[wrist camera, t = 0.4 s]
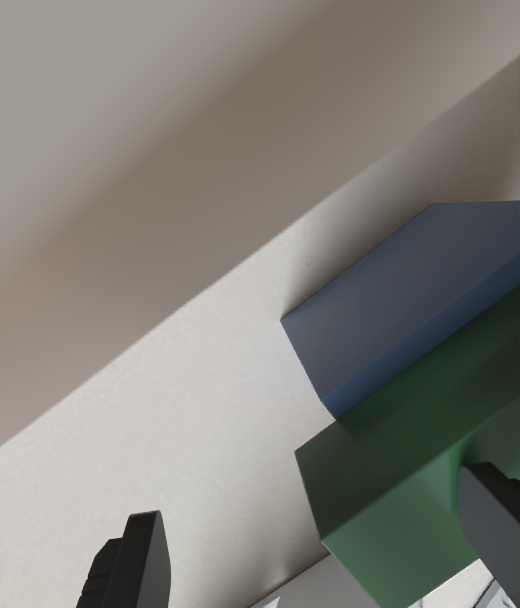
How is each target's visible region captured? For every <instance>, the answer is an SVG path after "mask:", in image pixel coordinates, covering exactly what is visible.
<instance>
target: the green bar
mask: <svg viewBox="0 0 520 608" xmlns="http://www.w3.org/2000/svg"><path fill="white" fill-rule="evenodd" d="M294 453H295V457H296V460H297V464H298V467H299V471H300V474H301V477H302V481H303V484H304V488H305V491H306V495H307V498H308V502H309V505H310V509H311V512H312V515H313V519H314V522H315V526H316V529H317V533H318V536H319V540H320V542H321V543H322V544H323V545H324V547H325V548H326V549H327V550H328V551H329V552H330V553H331V554H332V556H333V557H334V558H335V559H336V560H337V561H338V562H339V563H340V564H341V566H342V567H343V568H344V569H345V570H346V571H347V572H348V573H349V575H350V576H351V577H352V578H353V579H354V580H355V581H356V582H357V583H358V585H359V586H360V587H361V588H362V589H363V590H364V591H365V592H366V594H367V595H368V596H369V597H370V598H371V599H372V600H373V601H374V603H375V604H376V605H377V606H378V607H379V608H408V607H410V606H411V605H413V604H414V603H416V602H417V601H419V600H420V599H421V598H423V597H424V596H426V595H427V594H429V593H430V592H431V591H433V590H434V589H436V588H437V587H439V586H440V585H442V584H443V583H444V582H446V581H447V580H449V579H450V578H452V577H453V576H455V575H456V574H457V573H459V572H460V571H462V570H463V569H465V568H466V567H467V566H469V565H470V564H472V563H473V562H475V561H476V560H478V559H479V556H478V555H477V554H476V552H475V551H474V550H473V548H472V547H471V546H470V544H469V543H468V541H467V540H466V538H465V536H464V534H463V532H462V529H461V526H460V523H459V517H458V469H459V467H460V466H461V465H467V464H474V463H481V462H491V463H492V464H494V465H495V466H496V467H497V468H498V469H499V470H500V471H501V472H502V473H503V474H504V475H505V476H506V477H508V478H509V479H512V478H516V479H518V480H520V285H519V286H517V287H516V288H515V289H513V290H512V291H511V292H509V293H508V294H506V295H505V296H504V297H502V298H501V299H500V300H498V301H497V302H496V303H494V304H493V305H492V306H490V307H489V308H488V309H486V310H485V311H483V312H482V313H481V314H479V315H478V316H477V317H475V318H474V319H473V320H471V321H470V322H469V323H467V324H466V325H465V326H463V327H462V328H461V329H459V330H458V331H456V332H455V333H454V334H452V335H451V336H450V337H448V338H447V339H446V340H444V341H443V342H442V343H440V344H439V345H438V346H436V347H435V348H433V349H432V350H431V351H429V352H428V353H427V354H425V355H424V356H423V357H421V358H420V359H419V360H417V361H416V362H415V363H413V364H412V365H410V366H409V367H408V368H406V369H405V370H404V371H402V372H401V373H400V374H398V375H397V376H396V377H394V378H393V379H392V380H390V381H389V382H387V383H386V384H385V385H383V386H382V387H381V388H379V389H378V390H377V391H375V392H374V393H373V394H371V395H370V396H369V397H367V398H366V399H364V400H363V401H362V402H360V403H359V404H358V405H356V406H355V407H354V408H352V409H351V410H350V411H348V412H347V413H346V414H344V415H343V416H341V417H340V418H339V419H337V420H336V421H335V422H333V423H332V424H331V425H329V426H328V427H327V428H325V429H324V430H323V431H321V432H320V433H318V434H317V435H316V436H314V437H313V438H312V439H310V440H309V441H308V442H306V443H305V444H304V445H302V446H301V447H300V448H298V449H297V450H295V452H294Z"/></svg>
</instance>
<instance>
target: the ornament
mask: <svg viewBox="0 0 520 608" xmlns="http://www.w3.org/2000/svg"><path fill="white" fill-rule="evenodd" d="M250 608H379V607H378V606H377V605H376V604H375V603H374V601H373V600H372V599H371V598H370V597H369V596H368V595H367V594H366V592H365V591H364V590H363V589H362V588H361V587H360V586H359V585H358V583H357V582H356V581H355V580H354V579H353V578H352V577H351V576H350V575H349V573H348V572H347V571H346V570H345V569H344V568H343V567H342V566H341V564H340V563H339V562H338V561H337V560H336V559H335V558H334V557H333V556H332V554H330V555H328V556H327V557H325V558H324V559H322V560H321V561H319V562H318V563H316V564H315V565H313V566H312V567H310V568H309V569H307V570H306V571H304V572H303V573H301V574H300V575H298V576H297V577H295V578H294V579H292V580H291V581H289V582H288V583H286V584H285V585H283V586H282V587H280V588H279V589H277V590H276V591H274V592H273V593H271V594H270V595H268V596H267V597H265V598H264V599H262V600H261V601H259V602H258V603H256V604H255V605H253V606H252V607H250ZM408 608H421V599H420V600H419V601H417V602H416V603H414V604H413V605H411V606H410V607H408Z"/></svg>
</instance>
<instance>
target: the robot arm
mask: <svg viewBox="0 0 520 608" xmlns="http://www.w3.org/2000/svg"><path fill="white" fill-rule="evenodd" d="M458 517H459V523H460V526H461V529H462V532H463V534H464V536H465V538H466V540H467V541H468V543H469V544H470V546H471V547H472V548H473V550H474V551H475V552H476V554H477V555H478V556H479V558H480V559H481V560H482V562H483V563H484V564H485V566H486V567H487V568H488V570H489V571H490V573H491V574H492V575H493V577H494V578H495V579H496V581H497V582H498V583H499V585H500V586H501V587H502V589H503V590H504V591H505V593H506V594H507V596H508V597H509V598H510V600H511V601H512V602H513V604H514V605H515V606H516V608H520V480H518V479H516V478H512V479H509V478H508V477H506V476H505V475H504V474H503V473H502V472H501V471H500V470H499V469H498V468H497V467H496V466H495V465H494V464H492V463H491V462H481V463H474V464H467V465H461V466H460V467H459V469H458ZM170 587H171V565H170V558H169V552H168V547H167V541H166V536H165V530H164V525H163V519H162V515H161V512H160V511H159V510H157V511H150V512H143V513H137V514H131V515H130V516H129V518H128V521H127V524H126V527H125V531H124V534H123V537H122V538H116V539H109V540H108V542H107V543H106V544H105V545H104V546H103V548H102V549H101V550H100V551H99V552H98V554H97V555H96V556H95V558H94V560H93V563H92V566H91V568H90V571H89V574H88V580H86V582H85V585H84V587H83V590H82V596H80V598H79V601H78V603H77V606H76V608H168V602H169V595H170Z"/></svg>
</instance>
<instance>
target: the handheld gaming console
mask: <svg viewBox="0 0 520 608" xmlns="http://www.w3.org/2000/svg"><path fill="white" fill-rule="evenodd" d="M475 608H516V606H515V605H514V604H513V602H512V601H511V600H510V598H509V597H508V596H507V594H506V593H505V591H504V590H503V589H502V587H501V586H500V585H499V583H498V582H497V581H496V579H495V580H494V582H493V583H492V585H491V586H490V587H489V589H488V590H487V592H486V593H485V594H484V596H483V597H482V599H481V600H480V602H479V603H478V604H477V606H476V607H475Z"/></svg>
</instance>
